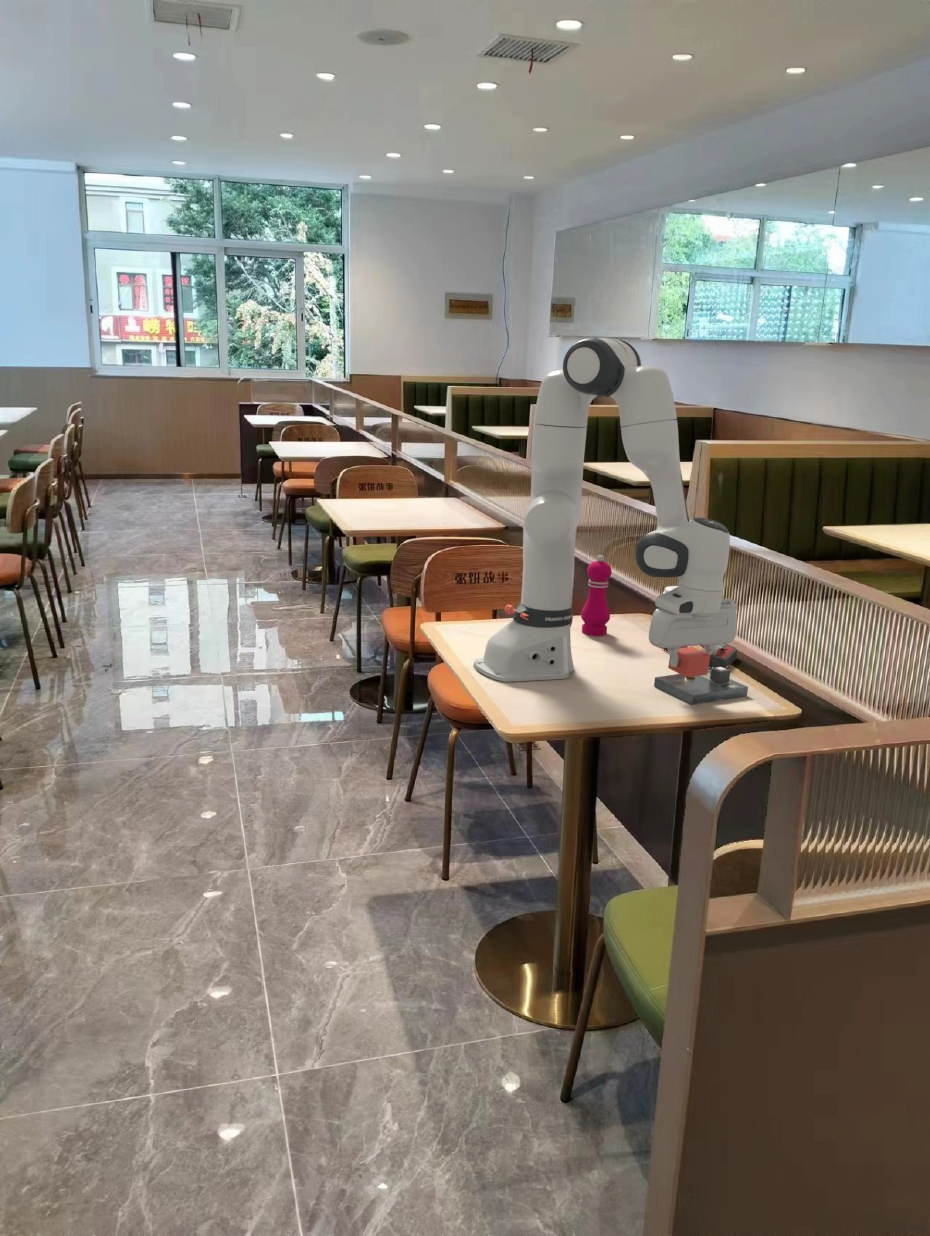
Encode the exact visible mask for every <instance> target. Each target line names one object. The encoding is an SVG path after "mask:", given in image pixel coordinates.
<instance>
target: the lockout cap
mask: <svg viewBox="0 0 930 1236" xmlns="http://www.w3.org/2000/svg"><path fill="white" fill-rule="evenodd" d="M677 654H678V658H680V659H682V662H681V666H680V667H672V666H670V659H671V657H670V656H669V659H668V665H667V668H668V670H671V671H673V672H675V673H677V674H681V675H683V676H685V677H690V676H700V675H707V673H708V670H709V668H710V667H709V661H710V655H709V654H707V653H704V652H702V651H700V649H698V648H695V646H688V647H685V648H680V650H679V652H677Z"/></svg>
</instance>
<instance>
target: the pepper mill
mask: <svg viewBox="0 0 930 1236" xmlns="http://www.w3.org/2000/svg"><path fill="white" fill-rule="evenodd" d="M604 560H605V557H604V555H603V554H599V555H597V557H596V561H593V562H591V563H590V564H589V565H588V567H587V570H586V572H587V573H586V574H587V576H588V577H589V579H588V584H587V585H588V586H589V592H588V597H587V600H586V602H585V603H584V605H583V607H582V610H581V614H580V617H581V619H582V622H583V624H582V625H581V633H583V634H584V635H588V636H593V637H601V636H605V635H606V634H608V633H607V632H608V626H607V625H606V624H607V623H608V622H609V621H610V619H611V611H610V607H609V606H608V601H607V596H606V593H607V592H606V591H607V588H608V587H609V579H610V578H611V576H612V567H611V565H610V564H609V563H608V562H606V561H604Z"/></svg>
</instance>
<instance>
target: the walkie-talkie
mask: <svg viewBox="0 0 930 1236" xmlns="http://www.w3.org/2000/svg"><path fill="white" fill-rule="evenodd" d="M699 650H700V649H699ZM702 650H703V649H702ZM702 650H700V651H702ZM737 655H738V649H737V648H736V647H735V646H732V645H727V644H726V643H722V644H715V648H714V650H713V652H712V653H711V655H710V661H709V667H708V668H711V667H713V668H716V667H723V668H726V667H727V666H728V667H729V666H731V665H732V664H733V663H734V662H735V660H737V657H738V656H737ZM728 667H727V668H728ZM727 668H726V669H727Z"/></svg>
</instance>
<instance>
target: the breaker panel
mask: <svg viewBox="0 0 930 1236" xmlns="http://www.w3.org/2000/svg"><path fill="white" fill-rule="evenodd" d="M710 674H711V669H708V673H707V675H700V676H690V677H685V676H683V675H681V674H679V673H677V674H676V673H675V674H669V675H663V676H656V677H654V683H653V687H655V688H657V689H658V690H660V691H663V692H665V693H667V694H669V695H671V696H673V697H675V698H677V699H679V700H681V701H683V700H684V702H686V703H688V704H690V705H699V704H703V703H710V702H711V703H712V702H717V701H722V700H724V701H725V700H728V699H735V698H736V699H737V698H743V697H748V690H749V686H747V685H745V684H744V683H741V682H738V681H736V680H733V679H731V678H730V679H729V682H725V683H717V682H715V681H713V680H710ZM698 703H699V704H698Z"/></svg>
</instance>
